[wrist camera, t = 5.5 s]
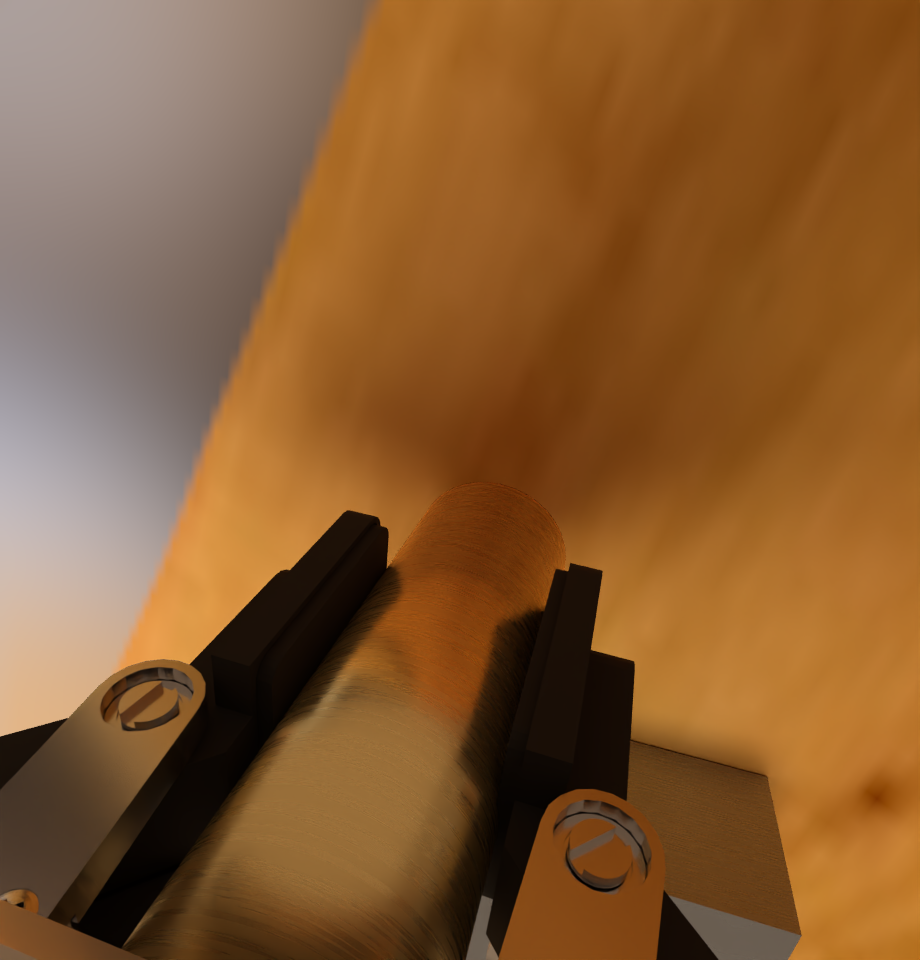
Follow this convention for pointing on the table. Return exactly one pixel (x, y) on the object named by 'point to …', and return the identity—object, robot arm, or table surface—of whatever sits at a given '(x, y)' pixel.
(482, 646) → the brass pin
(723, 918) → the metal block
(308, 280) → the table surface
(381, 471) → the table surface
